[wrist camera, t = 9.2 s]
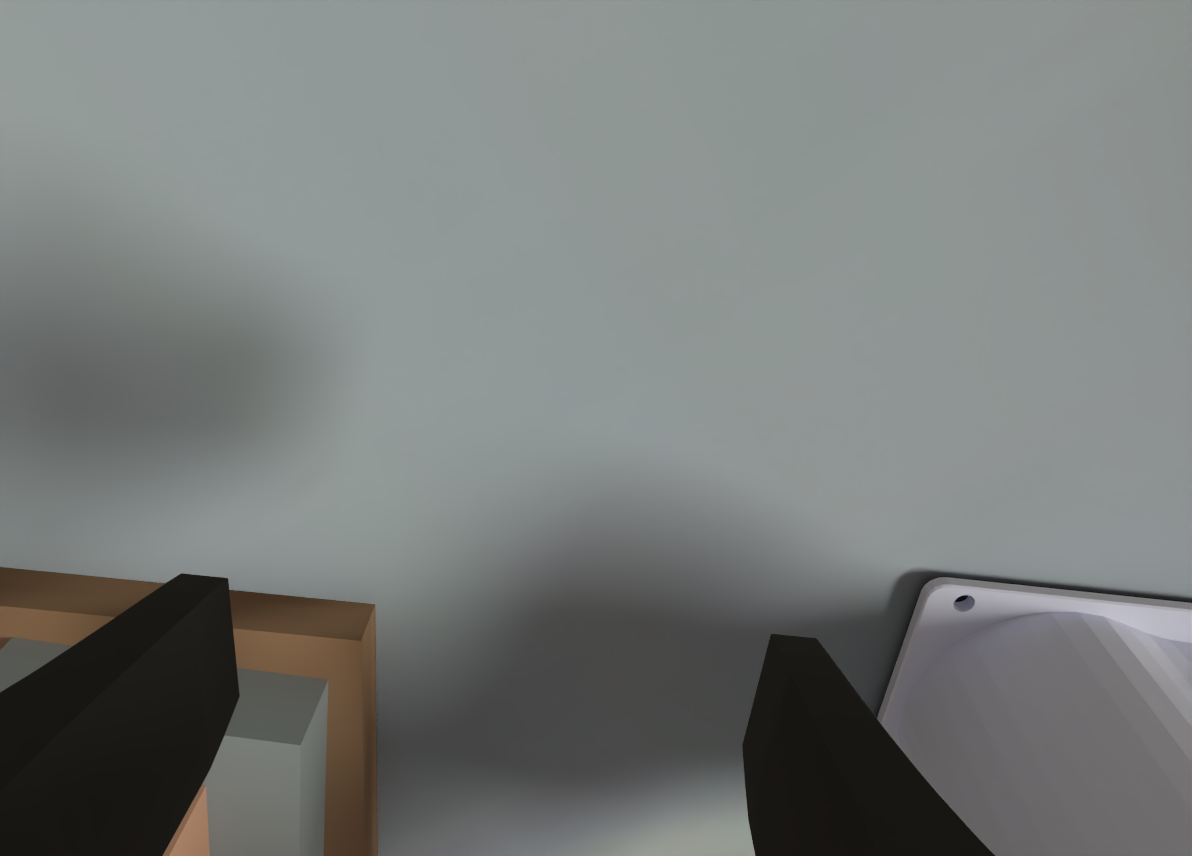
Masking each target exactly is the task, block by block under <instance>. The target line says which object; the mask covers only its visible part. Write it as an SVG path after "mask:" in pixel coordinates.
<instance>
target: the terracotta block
mask: <svg viewBox="0 0 1192 856" xmlns="http://www.w3.org/2000/svg"><path fill="white" fill-rule="evenodd" d="M163 856H210V849H209V831H208V813H207V795H206V786H202V785H201V787H200V789H199V791H198V793H197V795H196V796H195V798H194V800H193V802H192V804H191V805H190V807H189V809H188V811H187V813H186V815H185V816H184V818H183V820H182V822H181V824H180V825H179V827H178V829H177V831H176V833H175V834H174V836H173V838H172V840H171V842H170V843H169V845H168V847H167V849H166V850H165V852H164V854H163Z"/></svg>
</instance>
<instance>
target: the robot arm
mask: <svg viewBox="0 0 1192 856" xmlns="http://www.w3.org/2000/svg"><path fill="white" fill-rule="evenodd" d="M963 595H968V597H967V598H966V599H965V600H963V601H961V602H954V601H955V600H956V599H957V598H958V597H960V596H963ZM239 697H240V694H239V684H238V674H237V664H236V654H235V644H234V634H233V624H232V614H231V604H230V594H229V584H228V578H220V577H210V576H200V575H190V574H180V575H178V576H177V577H175V578H174V579H172V580H170V581H169V582H167V583H166V584H164V585H163V586H161V587H160V588H158V589H157V590H155V591H154V592H152V593H151V594H149V595H148V596H146V597H145V598H143V599H142V600H140V601H139V602H137V603H136V604H134V605H133V606H131V607H130V608H128V609H127V610H126V611H124V612H123V613H121V614H120V615H118V616H117V617H115V618H114V619H112V620H111V621H109V622H108V623H106V624H105V625H104V626H102V627H101V628H99V629H98V630H96V631H95V632H93V633H92V634H90V635H89V636H87V637H86V638H84V639H83V640H81V641H80V642H78V643H77V644H75V645H74V646H72V647H71V648H69V649H68V650H66V651H64V652H63V653H61V654H60V655H58V656H57V657H55V658H54V659H52V660H51V661H49V662H48V663H46V664H45V665H43V666H42V667H40V668H39V669H37V670H36V671H34V672H33V673H31V674H29V675H28V676H26V677H24V678H23V679H21V680H20V681H18V682H16V683H15V684H13V685H11V686H10V687H8V688H6V689H5V690H3V691H1V692H0V856H163V854H164V852H165V850H166V849H167V847H168V845H169V843H170V842H171V840H172V838H173V836H174V834H175V833H176V831H177V829H178V827H179V825H180V824H181V822H182V820H183V818H184V816H185V815H186V813H187V811H188V809H189V807H190V805H191V804H192V802H193V800H194V798H195V796H196V795H197V793H198V791H199V789H200V787H201V785H202V784H203V782H204V780H205V778H206V776H207V774H208V772H209V771H210V769H211V766H212V764H213V762H214V759H215V757H216V754H217V752H218V750H219V747H220V745H221V743H222V740H223V738H224V735H225V733H226V730H227V728H228V725H229V723H230V720H231V717H232V715H233V712H234V710H235V707H236V705H237V702H238V699H239ZM743 759H744V773H745V786H746V797H747V808H748V818H749V824H750V830H751V835H752V840H753V845H754V850H755V855H756V856H1192V603H1187V602H1178V601H1168V600H1159V599H1149V598H1139V597H1130V596H1120V595H1111V594H1101V593H1092V592H1082V591H1073V590H1063V589H1054V588H1044V587H1035V586H1025V585H1015V584H1006V583H996V582H987V581H977V580H968V579H958V578H949V577H940V578H936V579H933V580H930V581H929V582H928V583H927V584H925V585H924V587H923V589H922V590H921V593H920V595H919V598H918V601H917V604H916V607H915V610H914V613H913V616H912V619H911V621H910V624H909V627H908V630H907V633H906V636H905V639H904V642H903V644H902V647H901V650H900V653H899V656H898V659H897V662H896V665H895V668H894V670H893V673H892V676H891V679H890V682H889V685H888V688H887V691H886V694H885V696H884V699H883V702H882V705H881V708H880V711H879V714H878V717H877V718H876V717H875V716H874V714H873V713H872V712H871V710H870V709H869V708H868V706H867V705H866V704H865V702H864V701H863V700H862V699H861V697H860V696H859V695H858V693H857V692H856V691H855V689H854V688H853V687H852V685H851V684H850V683H849V681H848V680H847V679H846V677H845V676H844V674H843V673H842V672H841V670H840V669H839V668H838V666H837V665H836V664H835V662H834V661H833V660H832V658H831V657H830V656H829V654H828V653H827V652H826V651H825V649H824V648H823V647H822V645H821V644H820V643H819V641H818V640H817V639H816V638H806V637H796V636H786V635H777V634H771V636H770V640H769V644H768V648H767V652H766V656H765V660H764V664H763V668H762V672H761V675H760V679H759V683H758V687H757V691H756V695H755V699H754V703H753V707H752V710H751V714H750V718H749V722H748V726H747V730H746V734H745V738H744V742H743Z"/></svg>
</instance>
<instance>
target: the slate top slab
mask: <svg viewBox="0 0 1192 856" xmlns="http://www.w3.org/2000/svg"><path fill="white" fill-rule="evenodd" d="M72 646H74V645H67V644H59V643H52V642H44V641H37V640H30V639H22V638H15V637H12V638H11V639H10V641H9V642H8V643H7V644H6V645H5V646H4V647H3V648H2V649H1V650H0V692H1V691H3V690H5V689H6V688H8V687H10V686H11V685H13V684H15V683H16V682H18V681H20V680H21V679H23V678H24V677H26V676H28V675H29V674H31V673H33V672H34V671H36V670H37V669H39V668H40V667H42V666H43V665H45V664H46V663H48V662H49V661H51V660H52V659H54V658H55V657H57V656H58V655H60V654H61V653H63V652H64V651H66V650H68V649H69V648H71V647H72ZM237 674H238V684H239V694H240V697H239V699H238V702H237V705H236V707H235V710H234V712H233V715H232V717H231V720H230V723H229V725H228V728H227V730H226V733H225V735H224V738H223V740H222V743H221V745H220V747H219V750H218V752H217V754H216V757H215V759H214V762H213V764H212V766H211V769H210V771H209V772H208V774H207V776H206V778H205V780H204V782H203V784H202V786H206V795H207V813H208V831H209V849H210V856H324V822H325V785H326V749H327V712H328V680H326V679H318V678H311V677H303V676H296V675H289V674H281V673H274V672H266V671H259V670H252V669H244V668H237Z"/></svg>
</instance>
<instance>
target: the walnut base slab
mask: <svg viewBox="0 0 1192 856" xmlns="http://www.w3.org/2000/svg"><path fill="white" fill-rule="evenodd" d="M163 585H164V583H154V582H144V581H134V580H124V579H114V578H104V577H94V576H84V575H74V574H64V573H53V572H43V571H33V570H23V569H13V568H3V567H0V650H1V649H2V648H3V647H4V646H5V645H6V644H7V643H8V642H9V641H10V639H11V638H12V637H15V638H22V639H30V640H37V641H44V642H52V643H59V644H67V645H75V644H77V643H78V642H80V641H81V640H83V639H84V638H86V637H87V636H89V635H90V634H92V633H93V632H95V631H96V630H98V629H99V628H101V627H102V626H104V625H105V624H106V623H108V622H109V621H111V620H112V619H114V618H115V617H117V616H118V615H120V614H121V613H123V612H124V611H126V610H127V609H128V608H130V607H131V606H133V605H134V604H136V603H137V602H139V601H140V600H142V599H143V598H145V597H146V596H148V595H149V594H151V593H152V592H154V591H155V590H157V589H158V588H160V587H161V586H163ZM229 594H230V604H231V614H232V624H233V634H234V644H235V654H236V664H237V668H244V669H252V670H259V671H266V672H274V673H281V674H289V675H296V676H303V677H311V678H318V679H326V680H328V712H327V749H326V785H325V822H324V856H377V855H378V832H377V730H376V628H375V604H365V603H355V602H345V601H335V600H325V599H315V598H305V597H295V596H285V595H274V594H264V593H254V592H244V591H234V590H229Z"/></svg>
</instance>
